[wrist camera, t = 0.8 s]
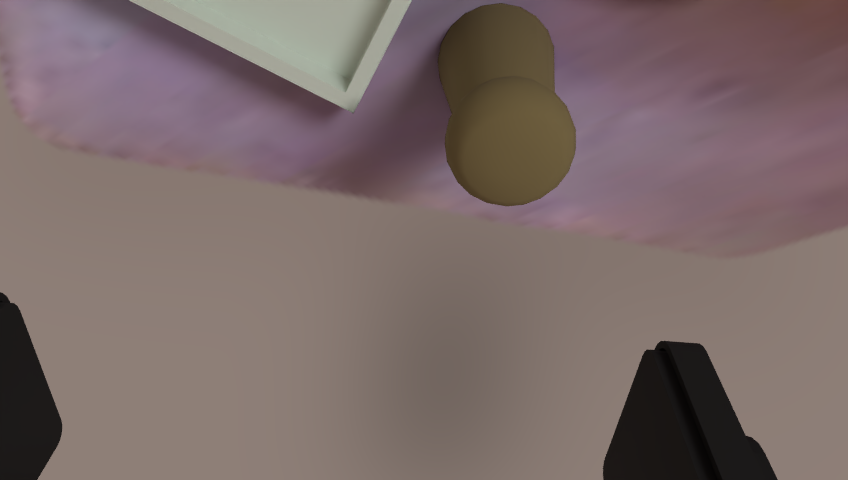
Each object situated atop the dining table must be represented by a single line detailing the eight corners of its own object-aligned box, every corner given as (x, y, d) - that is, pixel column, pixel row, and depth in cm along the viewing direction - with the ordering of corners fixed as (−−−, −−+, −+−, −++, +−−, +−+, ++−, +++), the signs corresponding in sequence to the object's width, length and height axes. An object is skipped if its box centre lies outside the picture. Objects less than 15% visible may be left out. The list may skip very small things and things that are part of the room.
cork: (579, 53, 33) (628, 151, 24) (501, 137, 36) (518, 254, 27) (489, -24, 31) (506, 53, 22) (414, 72, 34) (401, 174, 25)
